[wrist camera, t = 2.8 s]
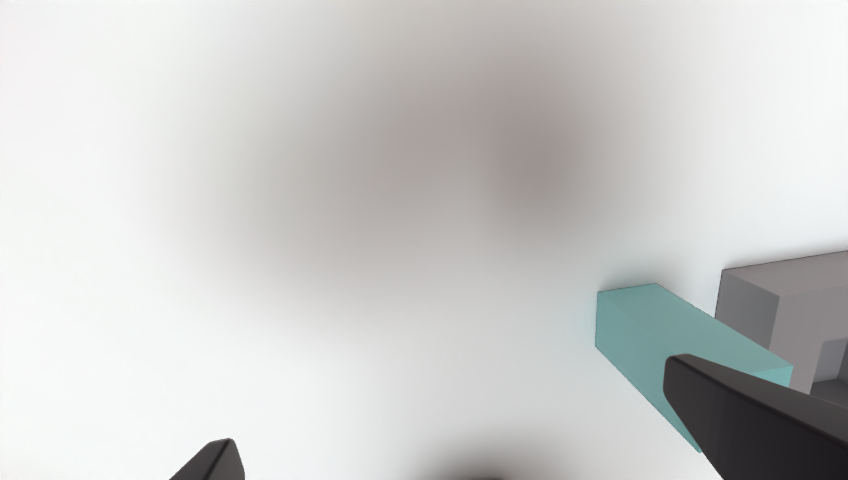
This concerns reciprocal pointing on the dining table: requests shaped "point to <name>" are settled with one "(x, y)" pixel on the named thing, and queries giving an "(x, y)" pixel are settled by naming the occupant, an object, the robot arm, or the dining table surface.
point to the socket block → (795, 317)
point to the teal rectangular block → (672, 342)
